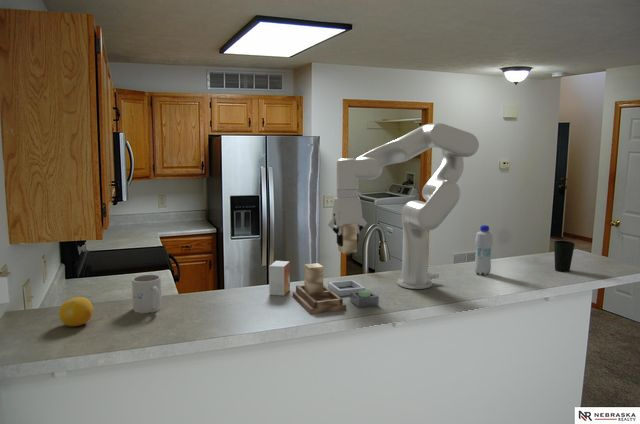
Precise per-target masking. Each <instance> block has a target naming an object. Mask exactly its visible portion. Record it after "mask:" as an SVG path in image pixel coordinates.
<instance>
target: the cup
mask: <svg viewBox="0 0 640 424" xmlns="http://www.w3.org/2000/svg"><path fill="white" fill-rule="evenodd" d="M553 242H554V243H553V244H554V246H553V247H554V248H553V249H554V251H553V252H554V254H553V255H554V270H555V271H556V272H560V273H569V272H570V270H571V265H572V261H573V256H574V249H575V244H576V243H575V242H573V241H571V240H570V241H569V240H554V241H553Z"/></svg>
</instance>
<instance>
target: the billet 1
mask: <svg viewBox="0 0 640 424" xmlns="http://www.w3.org/2000/svg"><path fill="white" fill-rule="evenodd" d="M303 270H304V278H303V279H304V284H303V285H304V291H306V292H307V293H311V292H321V291H323V284H324V266H323V265H321V264H320V263H318V262H317V263H305V264H304V269H303Z"/></svg>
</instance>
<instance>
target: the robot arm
mask: <svg viewBox="0 0 640 424" xmlns="http://www.w3.org/2000/svg"><path fill="white" fill-rule="evenodd" d="M479 145H480V142H479V139H478V137H477V136H475V134H473V133H471V132H469V131H466V130H463V129H459V128H457V127H455V126H452V125H449V124H445V123H441V122H436V123H435V122H434V123H426V124H423V125H421V126H419V127H418V128H416V129H414V130H412V131H409V132H408V133H406V134H405V135H403V136H399V137H398V138H397V139H395V140H394V139H393V140H391V141H390V142H387V143H384V144H383V145H381V146H378V147H375V148H373V149H372V150H369V151H367V152H365V153H364V154H362V155H359V156H358V157H356V158H353V157H352V158H347V157H345V158H339V159H338V160H337V161H336V197H334V199H333V204H332V205H333V206H332V212H331V213H332V214H331V220H330V221H329V223H328V224H327V227H328V228H329V229H331V230H332V231H333V232H334V233H335V234H336V244H337V246H338V245H339V246H343V236H342V230H343V225H351V224H357V245H358V243H359V234H360V233H361V231H362V230H363V229H364V227H366V225H368V222H367V221H366V219H365V218H364V216H363V209H362V202H361V198H360V197H359V196H360V195H361V194H362V189H360V188H359V179H363V180H374V179H377V178H379V177H380V176H381V175H382V172H383V168H384V167H386V166H390V165H395V164H400V163H404V162H407V161H410V160H411V159H413V158H415V157H417V156H419V155H420V154H422V153H424V152H426V151H428V150H430V149H432V148H436V149H437V148H439V149H441V154H442V161H441V164H440V165H439V167H438V168H437V169H436V171H435V172H434V173H433V174H432V176H431V177H430V178H429V179H428V180H427V182H426V183H425V184H424V186H423V187H422V191H421V195H422V198H423V199H424V200H425V201H426V202H425V201H421V200H419V199H418V200H417V199H416V200H415V199H414V200H410V201H408V202H406V203H405V204H404V206H403V207H402V210H401V224H402V233H403V234H402V261H401V262H402V264H401V268H402V269H401V277H400V278H398V280H397V285H398V286H400V287H402V288H406V289H409V290H411V289H412V290H425V289H429V288H431V287H432V286H433V282H432V281H431V280H433V279H440V274H439V273H436V272H434V273H433V272H429V253H430V233H429V232H430V231H434V230H435V229H437V228H438V227H439V226H440V225H441V224H442V223H443V221H444V220H445V219H446V218H447V217H448V215H450V213H451V212H452V211H453V209H455V207H456V205H457V204H458V202H459V200H460V198H461V189H460V186H459V185H458V184H457V183H458V181H459V180H460V178H461V177H462V175H463V172H464V166H465V164H464V163H465V162H464V158H470V157H472V156H474V155H475V154H476V153H477V152H478V150H479V147H480V146H479ZM335 226H336V227H335Z"/></svg>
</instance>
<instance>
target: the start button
mask: <svg viewBox="0 0 640 424" xmlns="http://www.w3.org/2000/svg"><path fill="white" fill-rule="evenodd" d="M358 296H359V297H369V296H370V290H366V289H365V290H361V291H359V292H358Z"/></svg>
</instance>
